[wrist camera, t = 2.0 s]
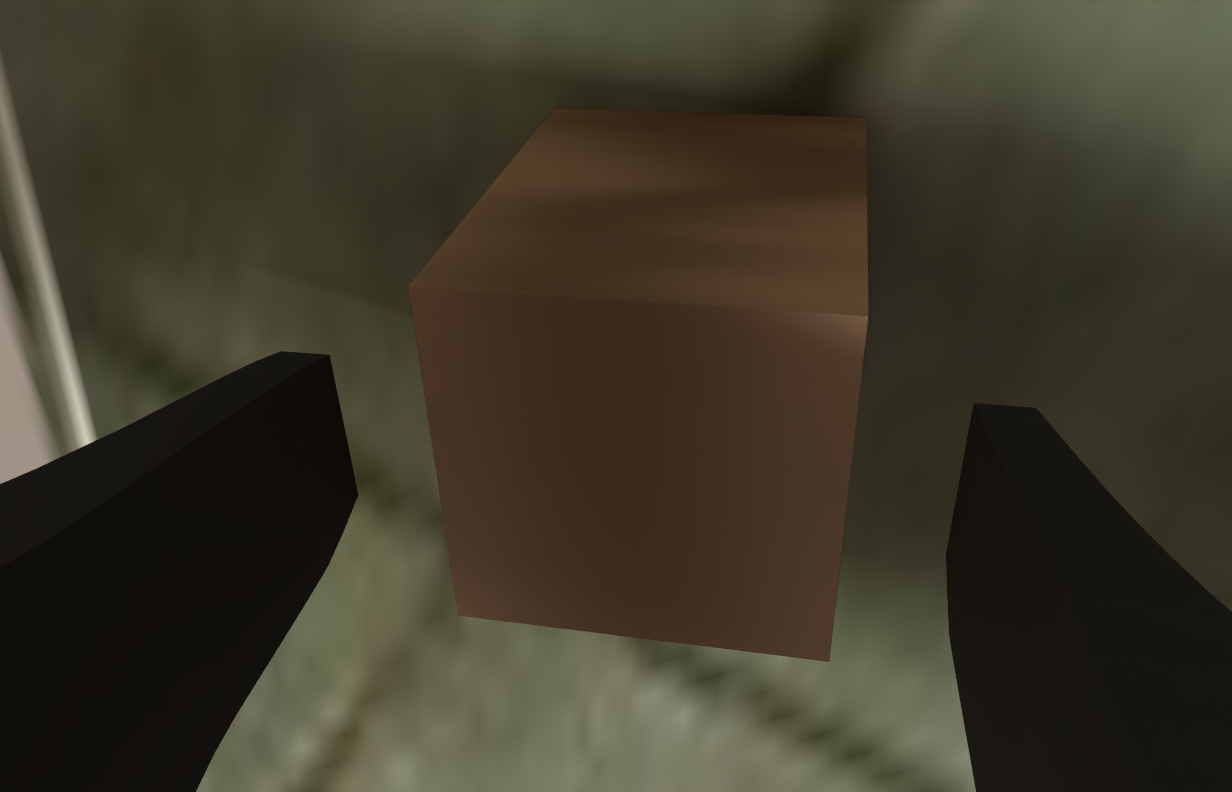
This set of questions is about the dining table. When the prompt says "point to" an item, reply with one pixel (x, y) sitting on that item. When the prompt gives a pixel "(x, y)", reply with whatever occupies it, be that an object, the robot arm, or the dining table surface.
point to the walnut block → (654, 377)
